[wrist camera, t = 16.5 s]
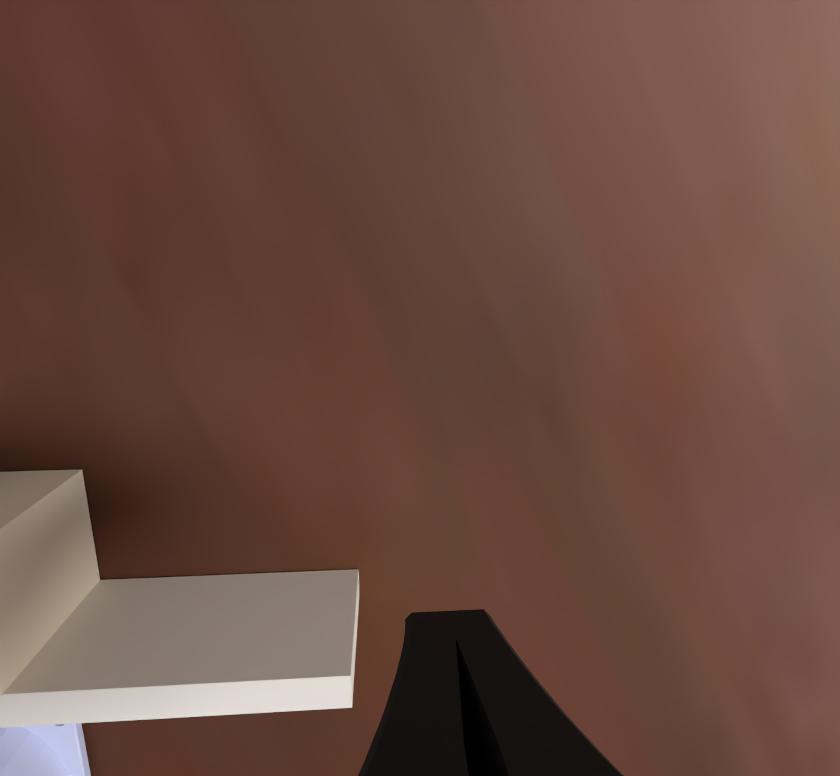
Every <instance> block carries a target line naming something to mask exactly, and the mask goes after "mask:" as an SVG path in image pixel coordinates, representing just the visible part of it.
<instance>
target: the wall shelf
mask: <svg viewBox="0 0 840 776" xmlns="http://www.w3.org/2000/svg"><path fill="white" fill-rule="evenodd" d="M358 607H359V572H358V569H351V570H327V571H303V572H279V573H256V574H232V575H208V576H184V577H160V578H136V579H112V580H100V576H99V570H98V564H97V558H96V552H95V546H94V539H93V533H92V527H91V521H90V515H89V508H88V502H87V496H86V490H85V484H84V478H83V471H82V469H79V470H45V471H11V472H0V728H6V727H23V726H41V725H58V724H75V723H93V722H110V721H127V720H145V719H162V718H179V717H197V716H214V715H232V714H249V713H266V712H284V711H301V710H318V709H336V708H352V700H353V684H354V669H355V653H356V638H357V622H358Z"/></svg>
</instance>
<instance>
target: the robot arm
mask: <svg viewBox="0 0 840 776" xmlns="http://www.w3.org/2000/svg"><path fill="white" fill-rule="evenodd" d="M0 776H91V774H90V769H89V763H88V758H87V752H86V747H85V741H84V736H83V731H82V725H81V723H75V724H58V725H41V726H23V727H6V728H0ZM358 776H623V775H622V774H621V773H620V772H619V771H618V770H617V769H616V768H615V767H614V766H613V765H612V764H611V762H610V761H609V760H608V759H607V758H606V757H605V756H604V755H603V754H602V753H601V752H600V751H599V750H598V749H597V748H596V747H595V746H594V745H593V744H592V743H591V741H590V740H589V739H588V738H587V737H586V736H585V735H584V734H583V733H582V732H581V731H580V730H579V729H578V727H577V726H576V725H575V724H574V723H573V722H572V721H571V720H570V718H569V717H568V716H567V715H566V714H565V713H564V712H563V710H562V709H561V708H560V707H559V706H558V705H557V703H556V702H555V701H554V700H553V699H552V697H551V696H550V695H549V694H548V693H547V691H546V690H545V689H544V688H543V687H542V685H541V684H540V683H539V682H538V680H537V679H536V678H535V677H534V676H533V674H532V673H531V672H530V670H529V669H528V668H527V667H526V665H525V664H524V663H523V661H522V660H521V659H520V657H519V656H518V655H517V653H516V652H515V651H514V649H513V648H512V647H511V645H510V644H509V643H508V641H507V640H506V639H505V637H504V636H503V634H502V633H501V631H500V630H499V629H498V627H497V626H496V624H495V623H494V621H493V620H492V618H491V617H490V615H489V614H488V613H487V612H486V611H485V610H484V609H481V610H459V611H438V612H417V613H411V614H410V615H409V616H408V617H407V618H406V619H405V636H404V643H403V648H402V653H401V657H400V661H399V665H398V669H397V673H396V676H395V679H394V682H393V686H392V689H391V692H390V695H389V698H388V701H387V705H386V708H385V710H384V713H383V716H382V719H381V721H380V724H379V726H378V729H377V731H376V734H375V736H374V739H373V741H372V744H371V746H370V749H369V751H368V754H367V756H366V759H365V761H364V764H363V766H362V768H361V771H360V773H359V775H358Z"/></svg>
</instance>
